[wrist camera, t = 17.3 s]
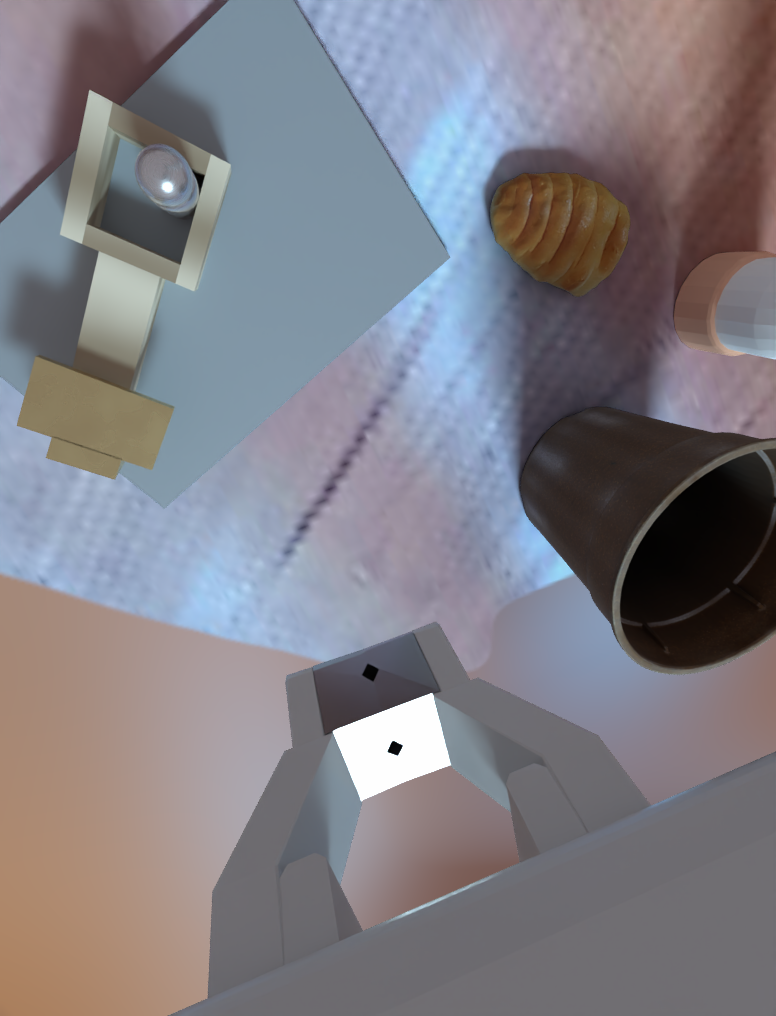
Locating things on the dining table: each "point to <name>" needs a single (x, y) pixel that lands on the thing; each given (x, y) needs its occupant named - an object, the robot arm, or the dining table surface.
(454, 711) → the robot arm
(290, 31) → the board
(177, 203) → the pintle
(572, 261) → the pastry
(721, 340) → the salt shaker
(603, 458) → the plant pot
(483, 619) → the dining table surface
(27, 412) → the block
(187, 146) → the link
